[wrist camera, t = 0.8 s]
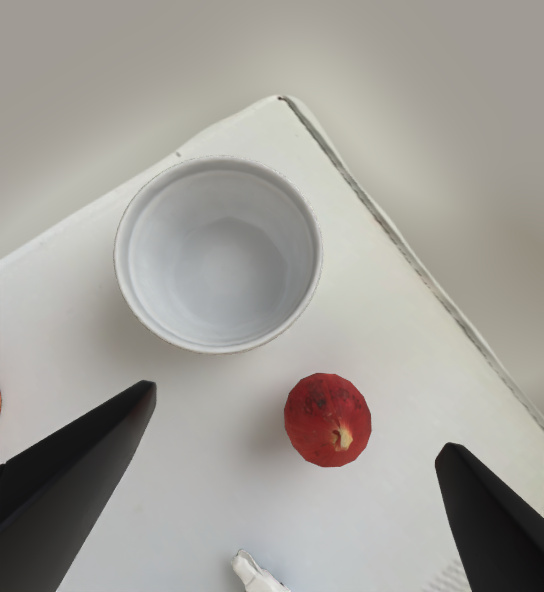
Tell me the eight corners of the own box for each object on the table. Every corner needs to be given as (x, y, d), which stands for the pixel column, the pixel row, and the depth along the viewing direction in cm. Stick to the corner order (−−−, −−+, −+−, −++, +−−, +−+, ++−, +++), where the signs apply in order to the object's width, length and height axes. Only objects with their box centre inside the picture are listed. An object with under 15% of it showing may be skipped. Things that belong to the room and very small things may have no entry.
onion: (269, 385, 23) (273, 407, 15) (333, 357, 23) (368, 365, 16) (297, 455, 22) (317, 518, 14) (362, 425, 23) (416, 469, 15)
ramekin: (289, 192, 26) (299, 137, 19) (323, 332, 24) (348, 329, 17) (145, 218, 25) (100, 171, 18) (167, 366, 23) (127, 378, 16)
